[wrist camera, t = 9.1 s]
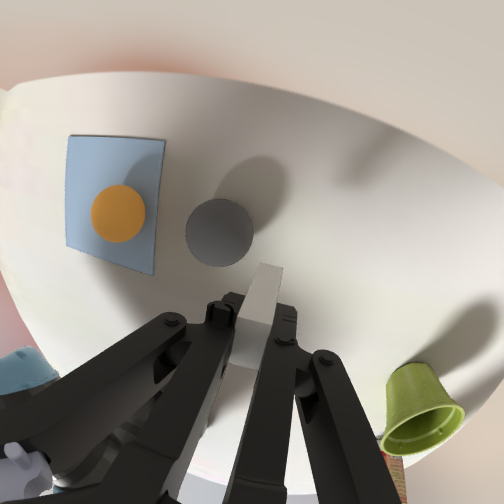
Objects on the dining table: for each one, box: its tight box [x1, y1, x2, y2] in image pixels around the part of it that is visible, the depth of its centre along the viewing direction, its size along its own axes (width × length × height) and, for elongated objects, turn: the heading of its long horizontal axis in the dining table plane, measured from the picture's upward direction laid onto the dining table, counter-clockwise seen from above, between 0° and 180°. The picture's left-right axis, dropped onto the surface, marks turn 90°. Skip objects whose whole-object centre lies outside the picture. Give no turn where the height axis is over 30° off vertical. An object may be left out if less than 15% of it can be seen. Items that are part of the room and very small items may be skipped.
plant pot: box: [381, 363, 465, 456], centre depth 23 cm, size 9×9×9 cm
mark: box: [65, 136, 165, 276], centre depth 27 cm, size 14×14×1 cm
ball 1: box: [91, 185, 145, 243], centre depth 24 cm, size 6×6×6 cm
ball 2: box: [186, 199, 253, 267], centre depth 23 cm, size 6×6×6 cm
